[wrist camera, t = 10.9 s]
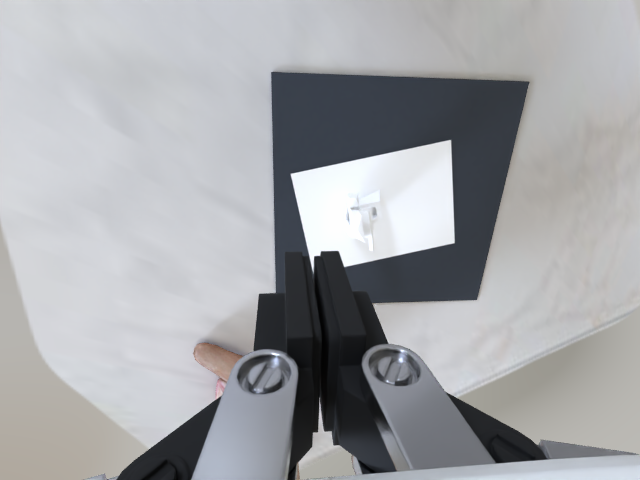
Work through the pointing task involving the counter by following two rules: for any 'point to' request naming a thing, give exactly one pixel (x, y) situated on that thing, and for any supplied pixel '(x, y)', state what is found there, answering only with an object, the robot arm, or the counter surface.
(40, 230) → the counter surface
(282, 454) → the robot arm
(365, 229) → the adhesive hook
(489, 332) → the counter surface
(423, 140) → the centre mat
